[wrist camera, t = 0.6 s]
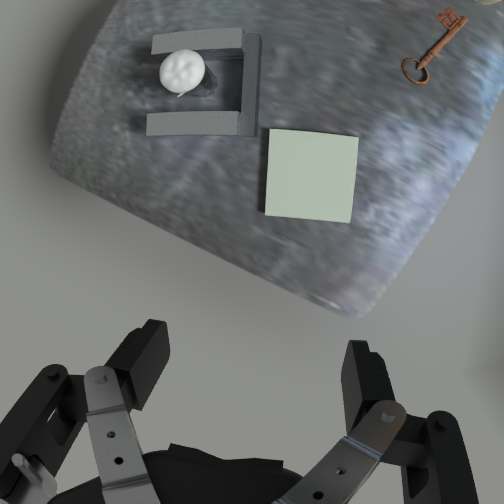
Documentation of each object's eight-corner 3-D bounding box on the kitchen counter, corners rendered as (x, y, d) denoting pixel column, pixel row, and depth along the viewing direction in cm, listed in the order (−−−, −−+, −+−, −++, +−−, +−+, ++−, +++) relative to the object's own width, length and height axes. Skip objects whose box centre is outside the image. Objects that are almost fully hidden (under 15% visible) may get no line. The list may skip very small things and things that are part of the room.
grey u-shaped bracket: (169, 46, 32) (153, 35, 27) (262, 41, 31) (257, 27, 26) (164, 135, 36) (146, 135, 31) (257, 136, 35) (251, 135, 30)
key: (442, 0, 25) (383, 57, 30) (444, -2, 24) (385, 55, 29) (474, 30, 25) (419, 90, 30) (477, 28, 24) (421, 89, 29)
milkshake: (189, 111, 35) (155, 103, 25) (184, 71, 33) (149, 52, 24) (226, 104, 34) (202, 91, 24) (220, 63, 32) (195, 38, 23)
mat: (270, 129, 34) (269, 128, 33) (356, 137, 33) (358, 137, 32) (265, 213, 38) (264, 215, 37) (348, 221, 36) (349, 223, 36)
